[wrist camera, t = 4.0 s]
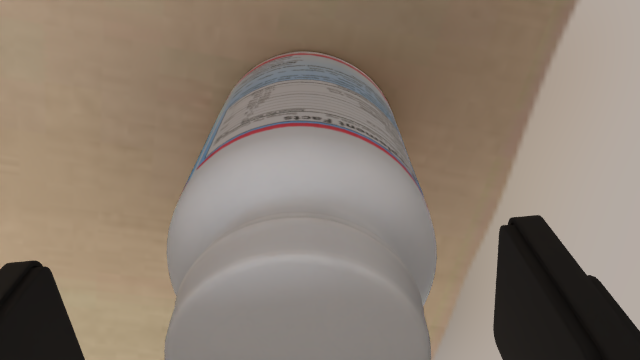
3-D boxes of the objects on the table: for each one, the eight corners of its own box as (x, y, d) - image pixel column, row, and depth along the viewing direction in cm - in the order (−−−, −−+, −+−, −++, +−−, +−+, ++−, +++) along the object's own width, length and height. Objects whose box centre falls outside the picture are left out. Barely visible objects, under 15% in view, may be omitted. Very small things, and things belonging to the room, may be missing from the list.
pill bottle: (331, 231, 21) (342, 523, 11) (192, 152, 20) (59, 407, 10) (428, 108, 19) (554, 335, 9) (280, 8, 17) (228, 143, 7)
